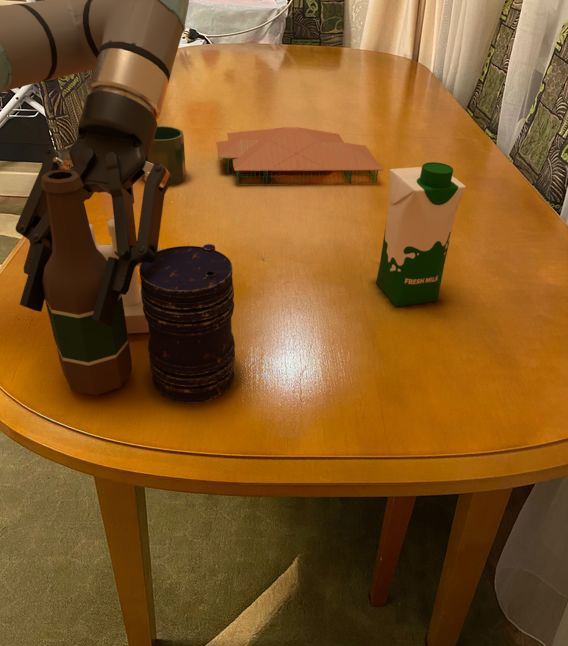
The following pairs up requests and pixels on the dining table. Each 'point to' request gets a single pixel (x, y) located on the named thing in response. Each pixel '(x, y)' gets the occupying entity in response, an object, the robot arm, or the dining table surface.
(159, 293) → the dark oil barrel
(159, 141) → the green mug
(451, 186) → the milk carton
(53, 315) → the beer bottle
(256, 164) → the house
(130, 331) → the figurine
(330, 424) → the dining table surface
